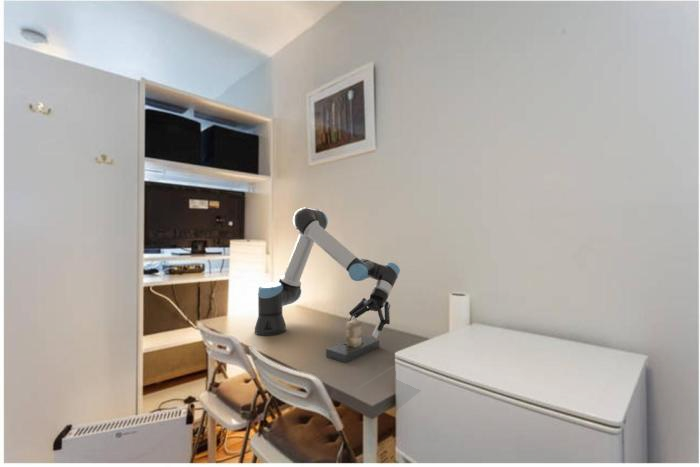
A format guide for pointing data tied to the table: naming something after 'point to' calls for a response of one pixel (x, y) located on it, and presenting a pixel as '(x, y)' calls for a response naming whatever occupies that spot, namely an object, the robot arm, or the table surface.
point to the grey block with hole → (352, 349)
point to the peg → (353, 333)
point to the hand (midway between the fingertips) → (360, 333)
